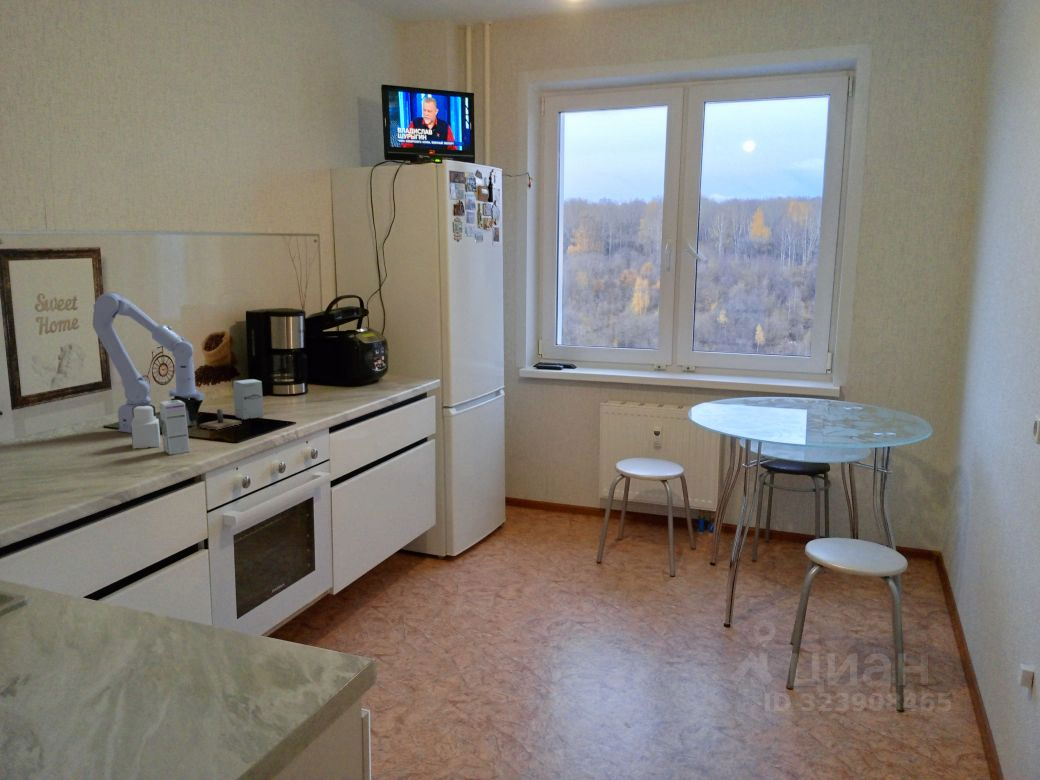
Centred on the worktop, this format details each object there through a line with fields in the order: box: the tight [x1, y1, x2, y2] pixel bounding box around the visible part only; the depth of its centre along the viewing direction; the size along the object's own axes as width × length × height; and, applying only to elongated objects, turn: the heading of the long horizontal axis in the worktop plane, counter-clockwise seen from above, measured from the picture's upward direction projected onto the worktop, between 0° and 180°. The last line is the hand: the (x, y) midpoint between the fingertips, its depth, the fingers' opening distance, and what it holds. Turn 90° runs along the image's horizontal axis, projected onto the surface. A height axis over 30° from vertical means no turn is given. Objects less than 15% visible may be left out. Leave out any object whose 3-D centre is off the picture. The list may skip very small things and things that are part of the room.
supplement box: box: [232, 378, 264, 420], centre depth 266 cm, size 7×7×13 cm
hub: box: [185, 408, 197, 427], centre depth 252 cm, size 4×4×5 cm
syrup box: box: [158, 399, 190, 456], centre depth 220 cm, size 6×6×14 cm
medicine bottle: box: [130, 404, 161, 450], centre depth 227 cm, size 7×7×12 cm
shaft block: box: [199, 408, 242, 431], centre depth 253 cm, size 10×8×6 cm
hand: (188, 419), depth 252 cm, fingers closed on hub, 4 cm apart
